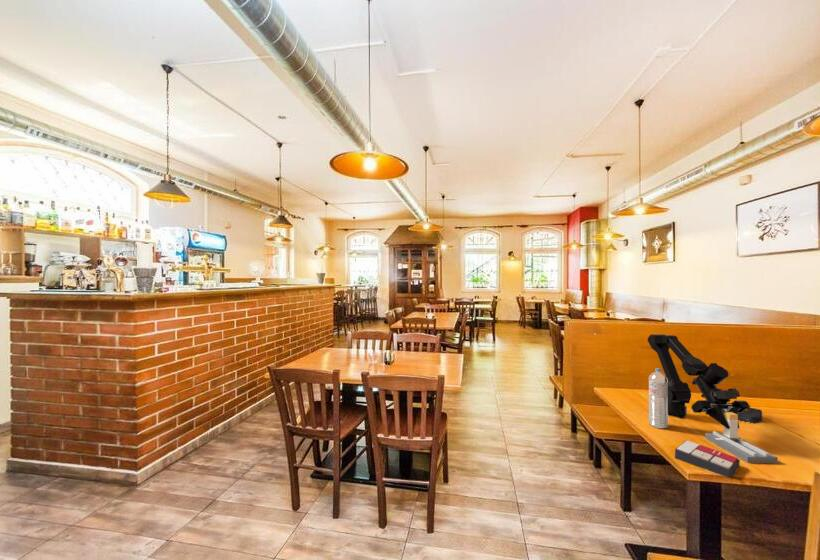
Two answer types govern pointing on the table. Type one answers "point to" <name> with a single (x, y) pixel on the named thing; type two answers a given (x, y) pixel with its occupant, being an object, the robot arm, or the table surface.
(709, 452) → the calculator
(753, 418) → the dark slate chunk
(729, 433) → the fader tab
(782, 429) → the table surface
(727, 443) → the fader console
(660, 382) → the water bottle
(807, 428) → the table surface
